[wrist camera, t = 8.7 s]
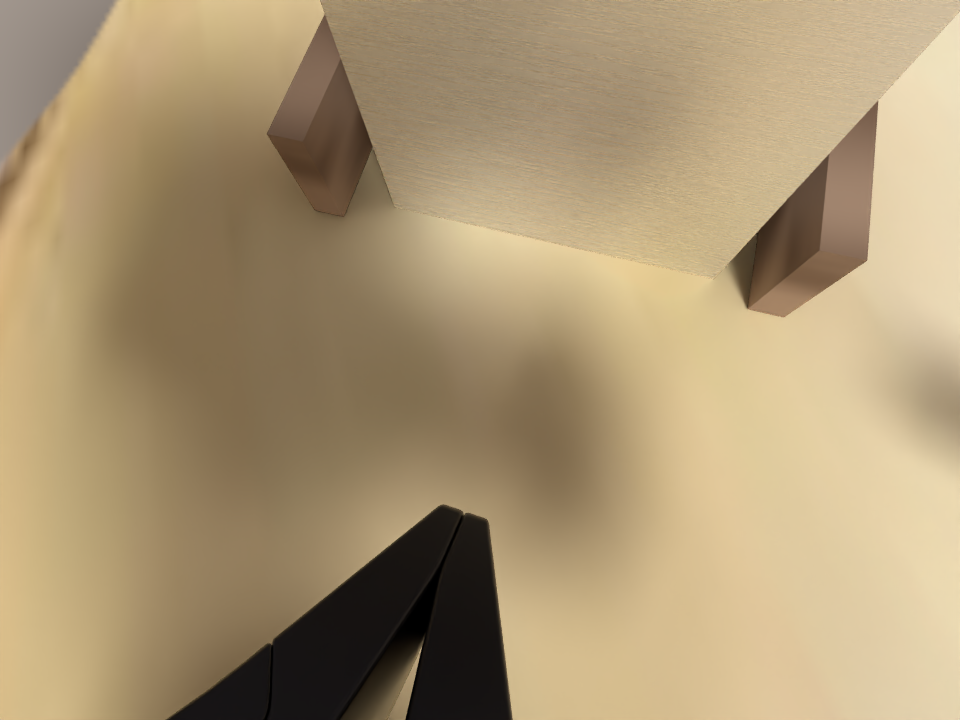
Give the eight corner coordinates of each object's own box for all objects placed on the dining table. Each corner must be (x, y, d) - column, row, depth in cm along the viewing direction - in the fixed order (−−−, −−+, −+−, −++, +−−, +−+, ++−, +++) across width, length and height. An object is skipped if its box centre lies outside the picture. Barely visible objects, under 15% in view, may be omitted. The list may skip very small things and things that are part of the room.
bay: (783, 317, 17) (867, 260, 13) (314, 209, 19) (266, 133, 15) (812, 70, 20) (887, -36, 16) (404, 1, 22) (383, -107, 18)
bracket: (712, 280, 17) (970, -1, 8) (395, 208, 19) (282, -101, 9) (744, 93, 20) (972, -301, 10) (458, 42, 21) (421, -344, 12)
